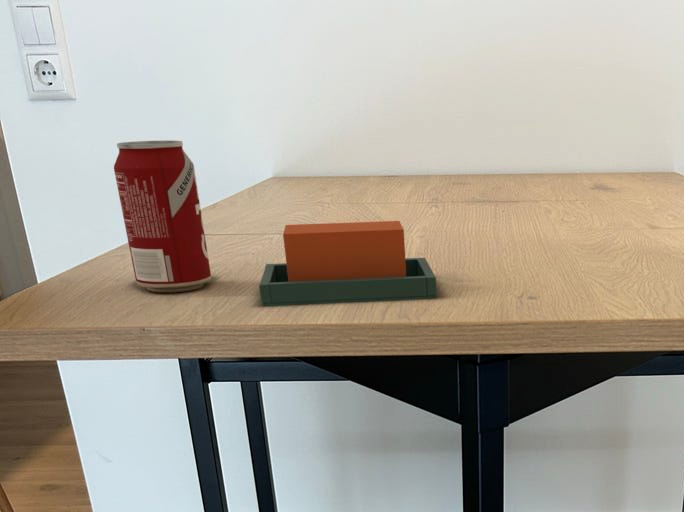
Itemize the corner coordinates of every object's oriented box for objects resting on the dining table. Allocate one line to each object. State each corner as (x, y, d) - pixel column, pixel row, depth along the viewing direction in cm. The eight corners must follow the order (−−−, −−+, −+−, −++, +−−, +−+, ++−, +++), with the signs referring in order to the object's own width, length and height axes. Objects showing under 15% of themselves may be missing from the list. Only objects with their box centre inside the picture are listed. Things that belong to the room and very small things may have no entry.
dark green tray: (262, 311, 78) (259, 284, 77) (269, 288, 86) (266, 263, 85) (436, 303, 79) (435, 277, 78) (426, 281, 88) (425, 257, 87)
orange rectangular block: (402, 280, 85) (399, 220, 83) (407, 291, 81) (403, 229, 78) (292, 284, 84) (285, 224, 82) (290, 296, 80) (282, 233, 77)
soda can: (167, 297, 83) (140, 146, 77) (122, 289, 87) (92, 143, 81) (227, 285, 88) (206, 141, 82) (182, 278, 91) (158, 139, 85)
